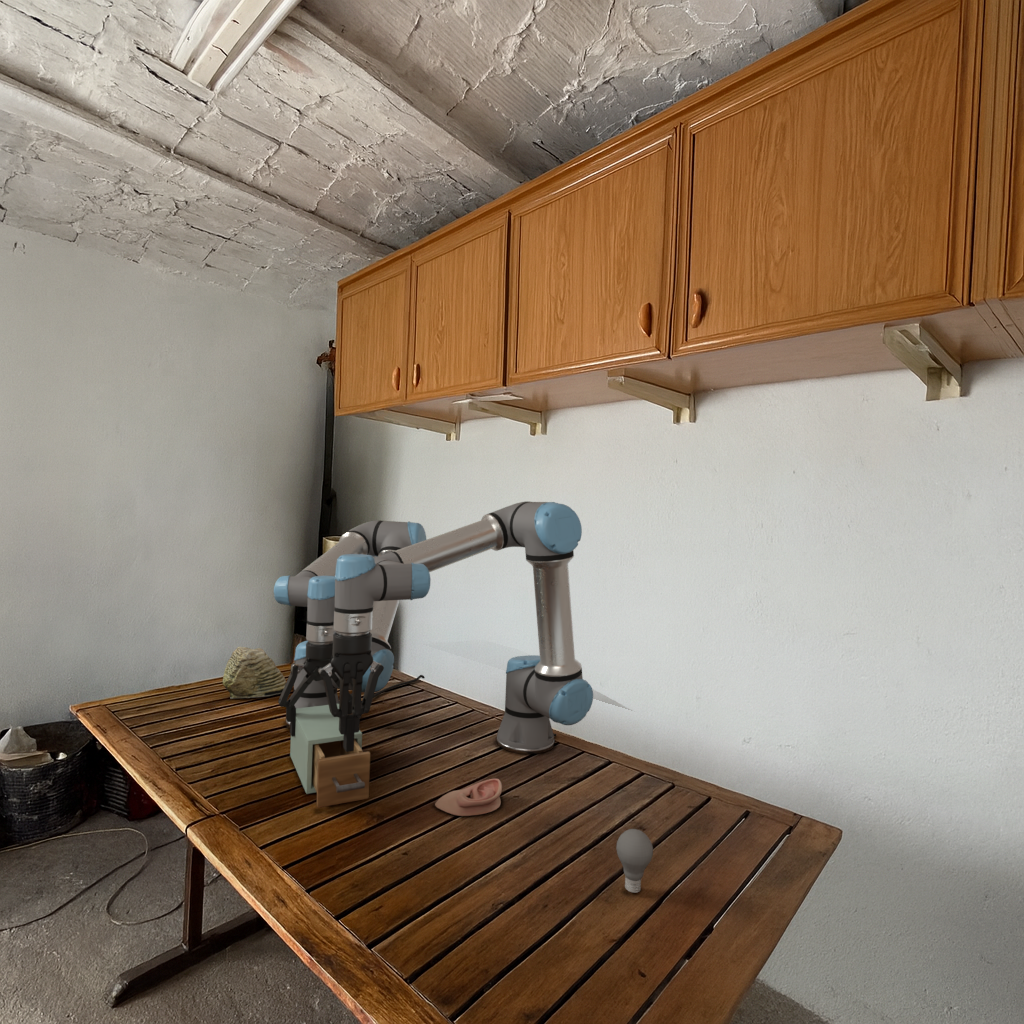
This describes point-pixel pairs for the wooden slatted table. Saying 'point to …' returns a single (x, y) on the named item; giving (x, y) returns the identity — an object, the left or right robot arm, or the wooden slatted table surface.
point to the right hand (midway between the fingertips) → (348, 748)
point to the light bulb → (634, 857)
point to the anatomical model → (472, 799)
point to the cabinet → (313, 739)
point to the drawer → (339, 773)
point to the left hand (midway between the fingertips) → (319, 731)
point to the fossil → (252, 674)
